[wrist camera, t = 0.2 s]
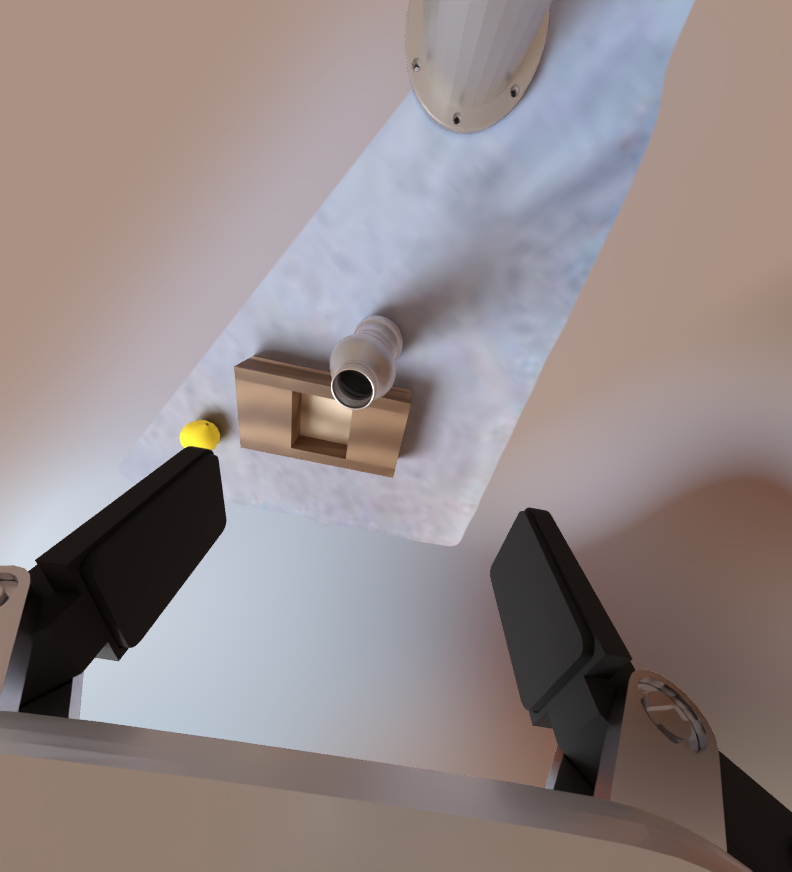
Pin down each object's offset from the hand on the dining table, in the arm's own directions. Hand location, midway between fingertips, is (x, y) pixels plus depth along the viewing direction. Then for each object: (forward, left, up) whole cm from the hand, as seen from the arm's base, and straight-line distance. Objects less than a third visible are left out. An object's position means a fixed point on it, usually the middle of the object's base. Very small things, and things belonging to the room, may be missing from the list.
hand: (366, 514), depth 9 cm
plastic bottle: (+3, -3, -36) cm, 36 cm away
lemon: (+24, -29, -36) cm, 52 cm away
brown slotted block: (+16, -9, -36) cm, 40 cm away
